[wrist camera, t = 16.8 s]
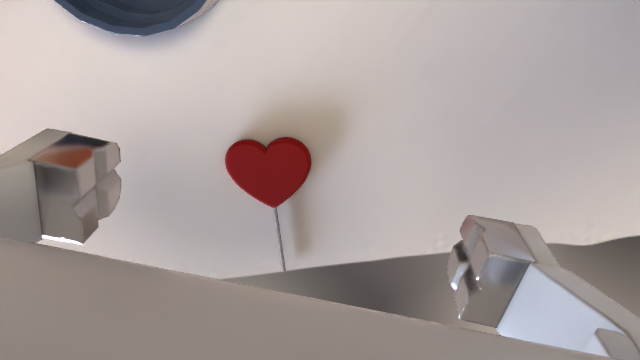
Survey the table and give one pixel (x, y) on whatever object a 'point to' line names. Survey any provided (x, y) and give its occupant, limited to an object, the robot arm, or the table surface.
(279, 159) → the lollipop
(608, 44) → the table surface
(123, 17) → the blue bowl
